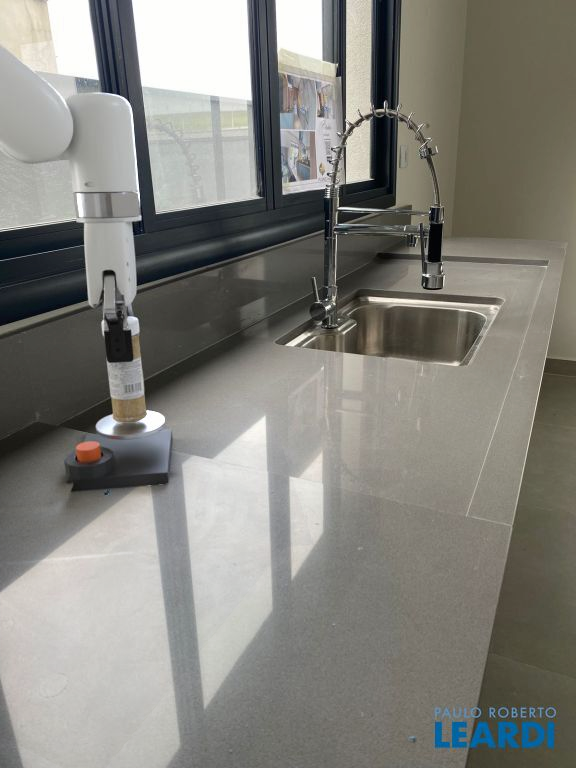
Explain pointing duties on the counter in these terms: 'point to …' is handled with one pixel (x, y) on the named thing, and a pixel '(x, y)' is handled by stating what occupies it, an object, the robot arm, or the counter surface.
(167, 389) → the counter surface
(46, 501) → the counter surface
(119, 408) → the spice jar
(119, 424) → the weighing pan
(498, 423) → the counter surface
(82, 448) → the tare button
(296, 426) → the counter surface
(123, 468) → the scale
